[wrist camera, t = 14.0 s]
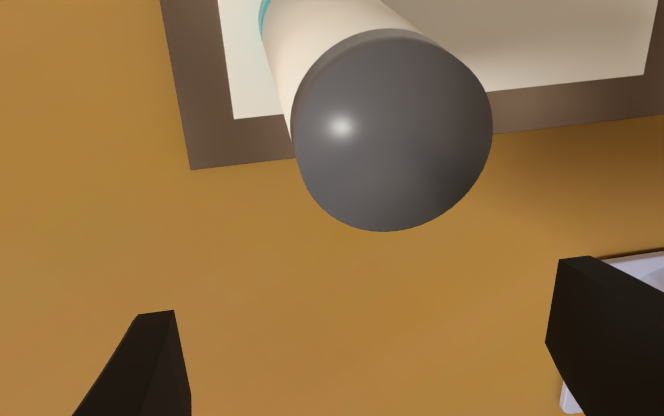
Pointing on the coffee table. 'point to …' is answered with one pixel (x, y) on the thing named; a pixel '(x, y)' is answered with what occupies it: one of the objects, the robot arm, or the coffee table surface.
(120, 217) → the coffee table surface
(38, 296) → the coffee table surface
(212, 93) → the clipboard
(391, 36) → the marker
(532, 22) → the white flat rectangle
